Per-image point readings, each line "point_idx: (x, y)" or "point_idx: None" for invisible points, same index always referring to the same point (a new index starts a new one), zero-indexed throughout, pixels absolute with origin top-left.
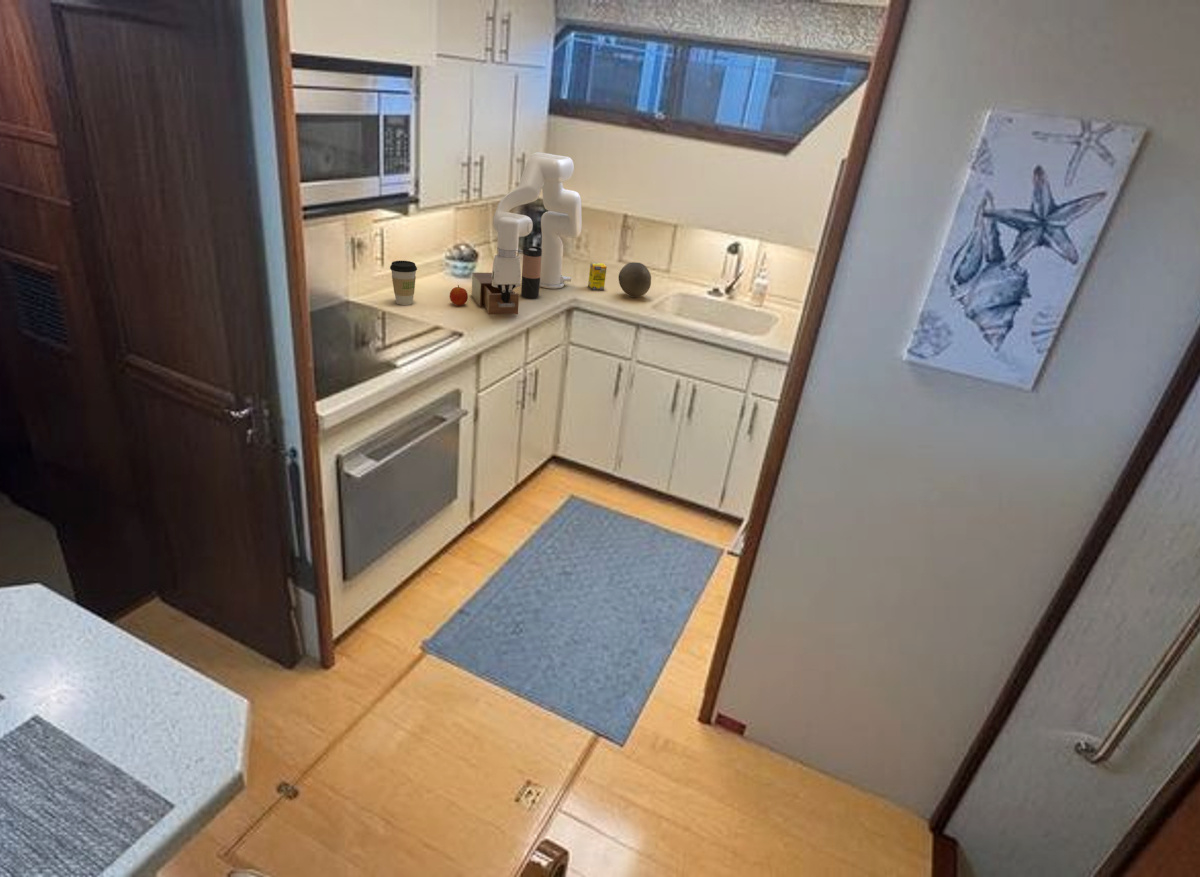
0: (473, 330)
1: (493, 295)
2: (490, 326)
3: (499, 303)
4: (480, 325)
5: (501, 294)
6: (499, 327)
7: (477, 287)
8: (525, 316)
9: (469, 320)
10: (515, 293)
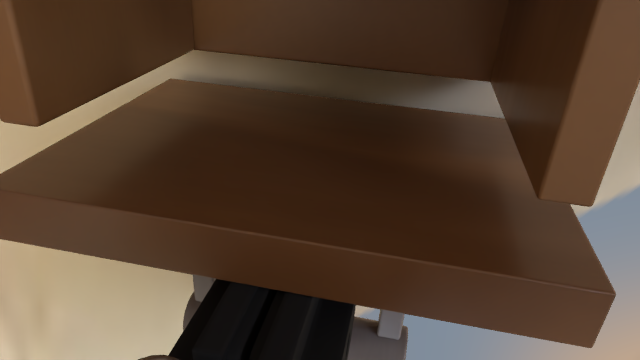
0: (46, 335)
1: (74, 243)
2: (165, 308)
3: (206, 283)
4: (94, 273)
5: (191, 325)
6: None
7: None
8: (610, 165)
9: (12, 156)
10: (542, 290)
